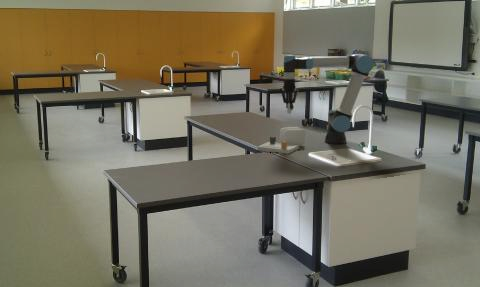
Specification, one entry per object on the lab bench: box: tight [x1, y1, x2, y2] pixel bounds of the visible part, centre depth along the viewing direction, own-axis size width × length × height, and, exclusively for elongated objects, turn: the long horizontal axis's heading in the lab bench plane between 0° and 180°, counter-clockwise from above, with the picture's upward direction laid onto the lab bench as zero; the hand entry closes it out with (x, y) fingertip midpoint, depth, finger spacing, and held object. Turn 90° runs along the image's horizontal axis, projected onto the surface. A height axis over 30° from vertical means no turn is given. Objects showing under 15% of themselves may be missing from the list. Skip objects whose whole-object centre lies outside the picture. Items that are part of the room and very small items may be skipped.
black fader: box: [269, 136, 277, 143], centre depth 359 cm, size 3×3×4 cm
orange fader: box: [280, 141, 287, 149], centre depth 343 cm, size 3×3×4 cm
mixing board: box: [257, 141, 300, 155], centre depth 352 cm, size 22×17×3 cm
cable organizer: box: [279, 126, 306, 147], centre depth 366 cm, size 15×11×12 cm
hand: (289, 113), depth 360 cm, fingers closed
